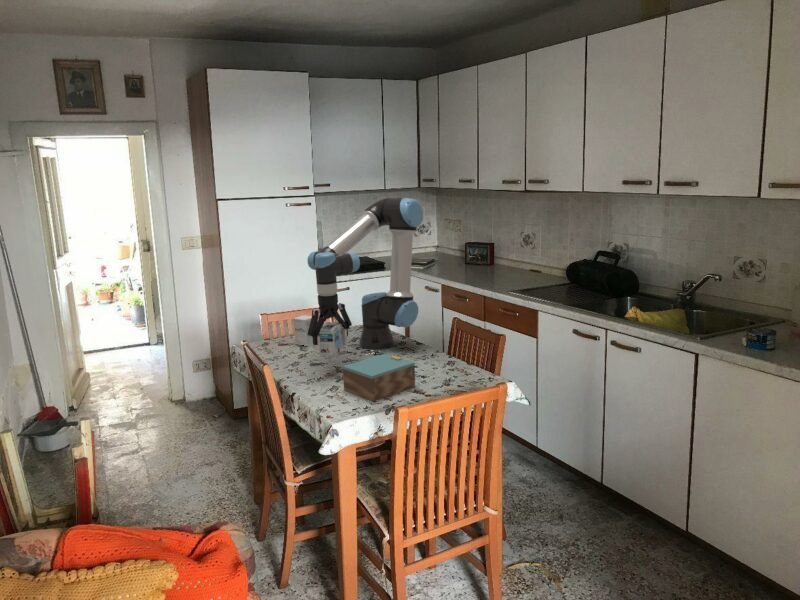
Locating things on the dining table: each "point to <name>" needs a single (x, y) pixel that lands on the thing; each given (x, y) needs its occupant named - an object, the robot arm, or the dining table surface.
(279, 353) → the dining table surface
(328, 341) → the light bulb box
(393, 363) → the chest lid
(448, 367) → the dining table surface
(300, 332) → the supplement box
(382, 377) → the walnut chest
